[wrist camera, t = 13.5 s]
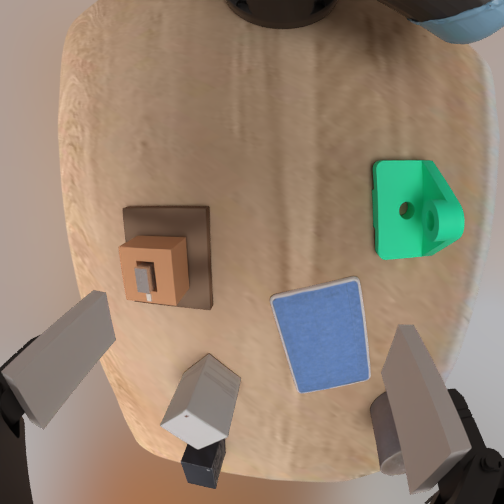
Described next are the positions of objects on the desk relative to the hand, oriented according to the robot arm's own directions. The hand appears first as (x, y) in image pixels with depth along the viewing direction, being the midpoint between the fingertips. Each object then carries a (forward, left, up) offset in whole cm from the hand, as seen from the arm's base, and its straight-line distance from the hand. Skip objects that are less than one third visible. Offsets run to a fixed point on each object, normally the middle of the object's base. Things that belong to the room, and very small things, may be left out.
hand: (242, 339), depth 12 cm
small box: (+47, -11, -26) cm, 55 cm away
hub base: (+6, -14, -26) cm, 30 cm away
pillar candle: (+33, +24, -26) cm, 48 cm away
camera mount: (-2, +16, -26) cm, 31 cm away
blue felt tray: (+18, +8, -27) cm, 33 cm away
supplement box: (+27, -9, -26) cm, 39 cm away
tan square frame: (+6, -14, -24) cm, 28 cm away
